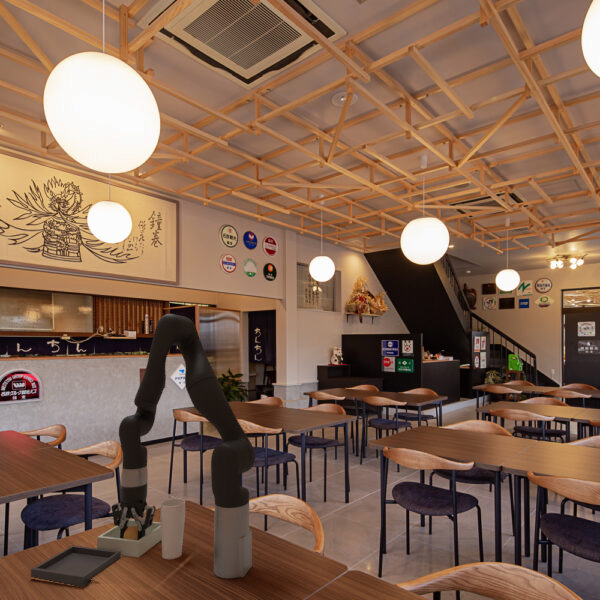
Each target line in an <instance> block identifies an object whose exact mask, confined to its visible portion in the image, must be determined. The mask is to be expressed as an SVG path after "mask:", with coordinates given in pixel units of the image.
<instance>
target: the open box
mask: <svg viewBox="0 0 600 600" xmlns="http://www.w3.org/2000/svg"><path fill="white" fill-rule="evenodd" d="M127 526H128V528H129V527H130V526H137V524H136V523H135V520H134V519H133V518H130V519H129V522H128V525H127ZM96 540H97V541H96V548H97V549H105V550H112V551H120V552H121V556H124V557H131V558H140V557H141V556H143V554H145V553H146V552H148V551H149V550H150V549H152V548H153V547H154V546H155V545H157V544H158V543H160V542H162V540H161V524H160V521H159V522H158V521H153V522H152V525H151V526H150V527H148V528H147V529H146V530H145V536H144V537H142V538H141V539H139V540H138V541H137V540H129V539H121V538H120V528H119V526H115V525H114V527H111V529H109V530H107V531H105V532H103V533H102V534H100V535H99V536H97V539H96Z"/></svg>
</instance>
